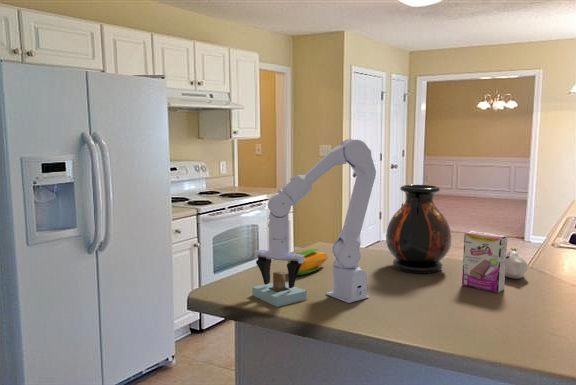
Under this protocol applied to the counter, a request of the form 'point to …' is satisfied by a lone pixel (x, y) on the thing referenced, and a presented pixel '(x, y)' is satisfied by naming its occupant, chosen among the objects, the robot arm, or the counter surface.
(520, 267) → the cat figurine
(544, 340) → the counter surface
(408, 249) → the black and orange vase
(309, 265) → the corn
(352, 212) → the robot arm
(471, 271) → the candy bar box
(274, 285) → the peg
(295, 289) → the board
